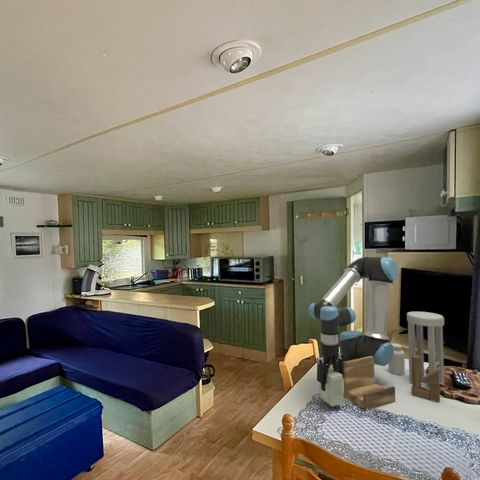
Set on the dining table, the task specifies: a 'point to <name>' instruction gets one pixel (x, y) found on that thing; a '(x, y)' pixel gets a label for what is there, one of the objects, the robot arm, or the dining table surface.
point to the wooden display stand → (365, 384)
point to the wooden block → (429, 379)
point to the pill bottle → (397, 361)
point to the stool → (433, 357)
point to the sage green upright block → (334, 388)
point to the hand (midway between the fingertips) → (331, 395)
